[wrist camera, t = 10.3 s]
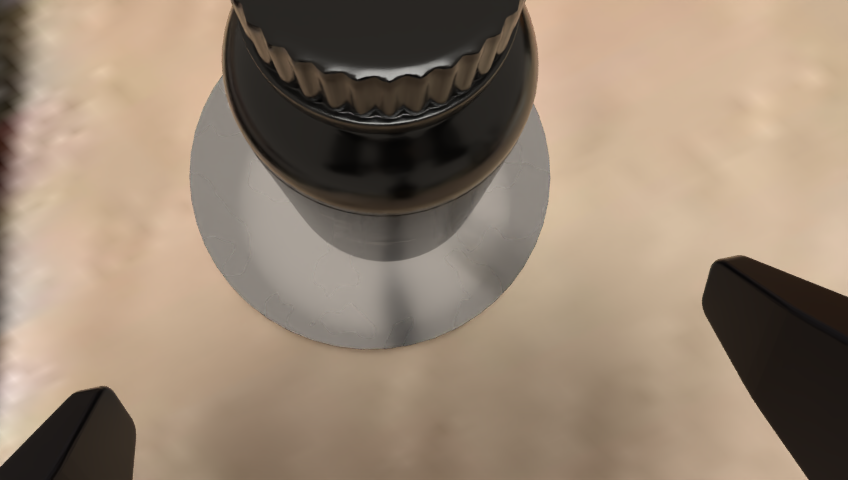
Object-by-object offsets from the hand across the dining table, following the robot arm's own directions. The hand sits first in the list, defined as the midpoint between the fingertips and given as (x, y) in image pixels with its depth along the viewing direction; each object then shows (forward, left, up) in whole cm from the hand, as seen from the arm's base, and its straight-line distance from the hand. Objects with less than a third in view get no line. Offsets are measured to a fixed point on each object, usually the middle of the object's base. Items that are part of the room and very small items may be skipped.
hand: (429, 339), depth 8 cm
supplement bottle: (+3, +5, -11) cm, 13 cm away
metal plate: (+2, +6, -12) cm, 14 cm away
